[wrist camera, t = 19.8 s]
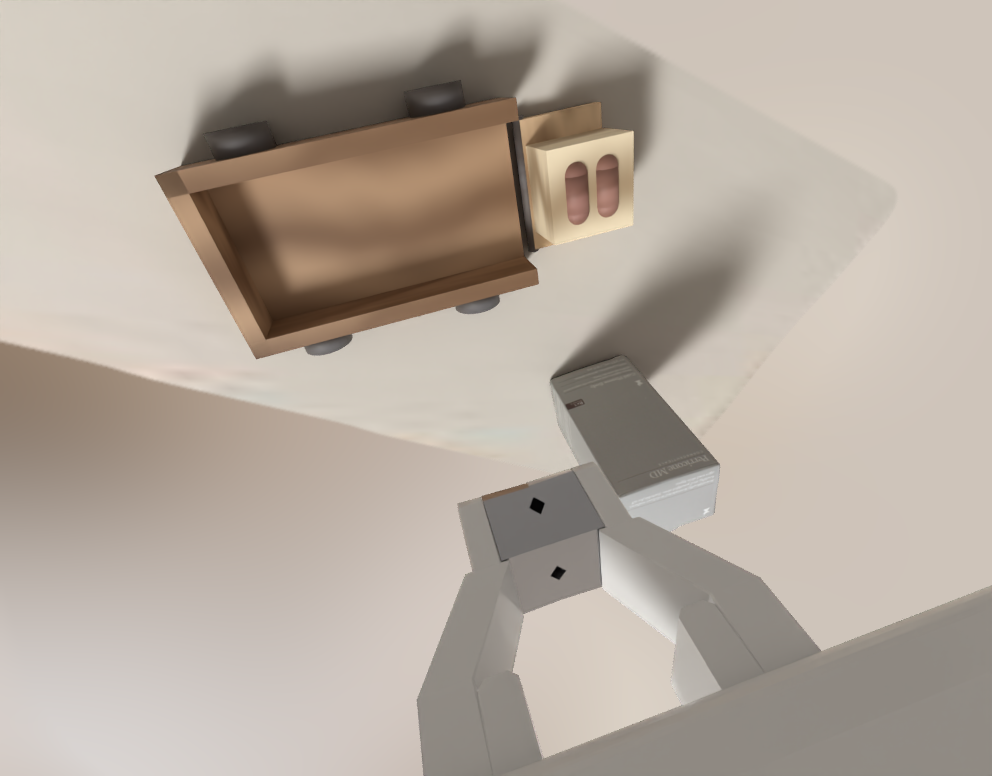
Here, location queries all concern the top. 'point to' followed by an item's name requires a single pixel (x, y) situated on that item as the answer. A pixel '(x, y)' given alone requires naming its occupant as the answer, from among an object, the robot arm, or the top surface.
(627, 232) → the top surface
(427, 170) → the cart bed
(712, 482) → the skincare box
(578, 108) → the tailgate
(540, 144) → the block
